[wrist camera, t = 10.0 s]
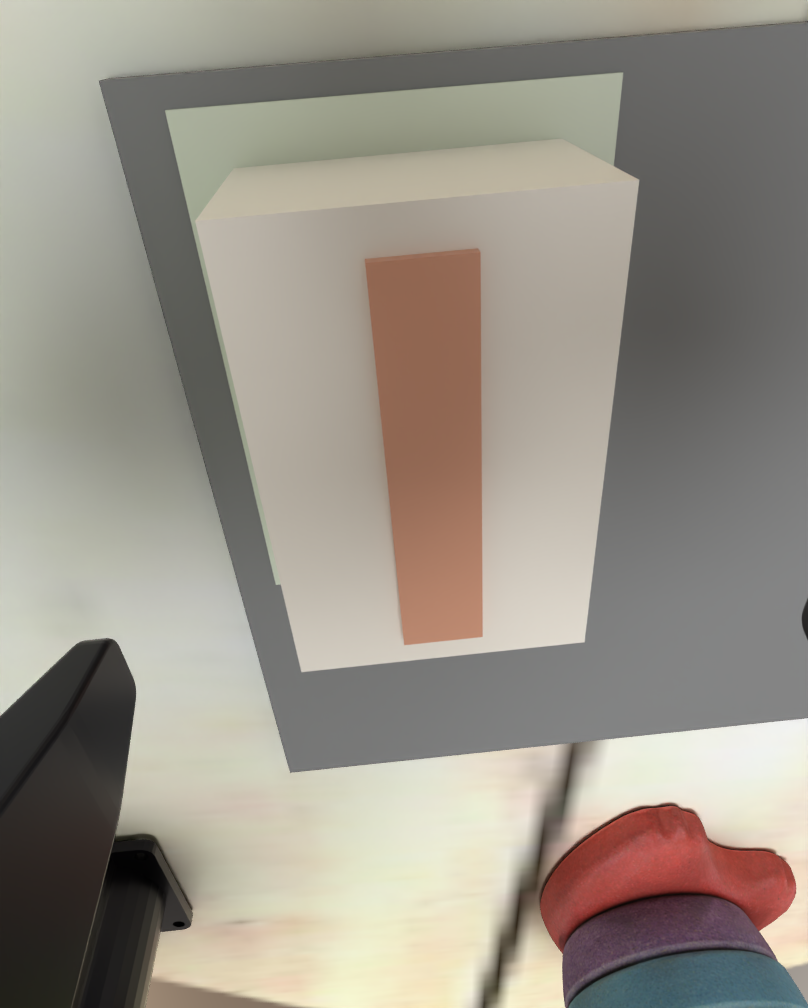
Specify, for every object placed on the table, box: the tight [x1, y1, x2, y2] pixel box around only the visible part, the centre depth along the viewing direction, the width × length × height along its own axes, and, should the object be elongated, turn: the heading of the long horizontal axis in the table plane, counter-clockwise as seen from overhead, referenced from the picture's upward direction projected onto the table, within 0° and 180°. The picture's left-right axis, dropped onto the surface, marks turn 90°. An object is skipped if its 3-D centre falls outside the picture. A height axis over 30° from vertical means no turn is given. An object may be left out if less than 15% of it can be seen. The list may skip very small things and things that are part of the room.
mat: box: [99, 21, 808, 773], centre depth 18 cm, size 20×22×1 cm
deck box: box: [195, 138, 639, 672], centre depth 13 cm, size 6×9×4 cm, turn 4°
